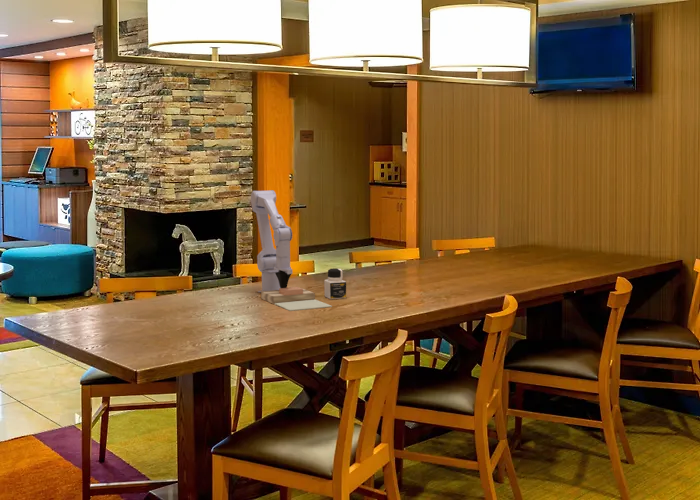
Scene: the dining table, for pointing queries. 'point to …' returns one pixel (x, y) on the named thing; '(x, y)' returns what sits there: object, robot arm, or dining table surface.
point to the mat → (302, 305)
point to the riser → (286, 296)
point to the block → (291, 291)
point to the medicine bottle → (335, 284)
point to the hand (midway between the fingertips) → (283, 289)
